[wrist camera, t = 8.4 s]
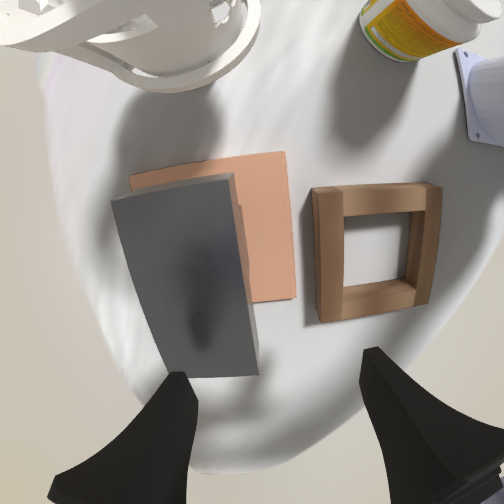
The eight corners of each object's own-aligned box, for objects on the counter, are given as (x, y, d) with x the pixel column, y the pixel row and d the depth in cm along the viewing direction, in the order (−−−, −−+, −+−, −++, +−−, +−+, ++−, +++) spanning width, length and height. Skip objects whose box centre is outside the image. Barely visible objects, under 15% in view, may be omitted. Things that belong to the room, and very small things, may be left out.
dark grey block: (257, 295, 19) (259, 374, 12) (195, 301, 19) (170, 377, 12) (239, 163, 16) (228, 179, 9) (168, 175, 16) (110, 200, 9)
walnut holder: (427, 182, 16) (442, 187, 15) (416, 291, 20) (428, 303, 18) (311, 187, 17) (318, 193, 15) (315, 307, 20) (320, 323, 18)
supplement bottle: (428, 69, 13) (522, 48, 4) (364, 58, 13) (450, 6, 4) (413, 11, 11) (489, -32, 2) (350, -3, 11) (409, -74, 2)
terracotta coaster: (283, 150, 16) (284, 151, 16) (295, 293, 20) (296, 297, 19) (132, 175, 17) (128, 176, 16) (164, 304, 20) (162, 309, 20)
